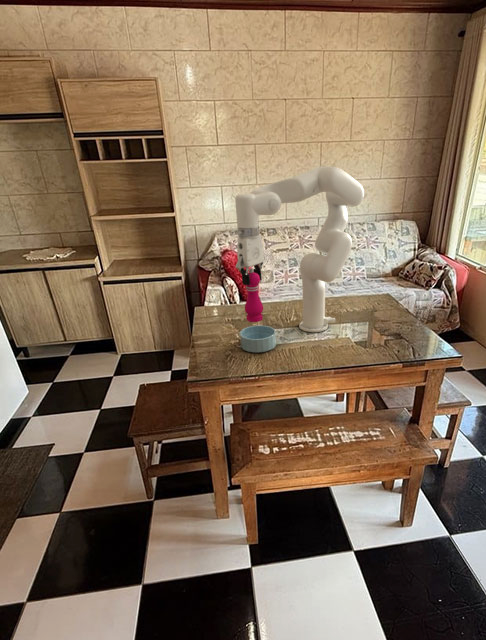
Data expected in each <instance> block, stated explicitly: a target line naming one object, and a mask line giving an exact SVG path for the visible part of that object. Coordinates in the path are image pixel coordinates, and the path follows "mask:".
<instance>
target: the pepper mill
mask: <svg viewBox="0 0 486 640" xmlns="http://www.w3.org/2000/svg"><path fill="white" fill-rule="evenodd" d="M248 274H249V277H250V285H245V290H246V291H247V298H246V301H245V304H244V312H245V314H246V321H247V322H249V323H258V322H261V321H263V320H264V318H263V312H264V305H263V302H262V301H261V298H260V295H259V290H260V285H259V284H260V283H261V280H260V277H259V275H258V274H257V273H255V272H254V268H252V267H250V268H249V271H248Z"/></svg>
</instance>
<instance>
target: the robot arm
mask: <svg viewBox="0 0 486 640" xmlns="http://www.w3.org/2000/svg"><path fill="white" fill-rule="evenodd" d="M321 193H325V199H326V202H327V209H328V212H327V216H326V219H325V221H324V223H323V225H322V227H321V228H320V231H319V232H318V234H317V237H316V239H315V242H314V246H315V249H316V250H317V251H318V252H320V253H322V254H326V255H322V254H319V253H316V252H315V253H314V252H310V253H307V254H305V255H303V257H302V258H301V259H300V262H299V269H300V271H299V272H300V275H301V283H302V321H301V322H299V324H298V327H299V329H300V330H301V331H304V332H307V333H320V332H323V331H326V330H327V329H328V328H329V323H336V318H335V317H332V316H325V315H326V314H325V313H326V283H331V282H333V281H335V280H336V278H338V276H339V274H340V273H341V271H342V269H343V267H344V265H345V263H346V261H347V260H348V257H349V256H350V253H351V251H352V247H353V240H352V237H351V236H350V234H349V233H348V232H345V230H346V228H347V225H348V221H349V213H348V210H347V207H351V208H353V207H357V206H359V205H360V204H361V203H362V202H363V200H364V199H365V190H364V187H363V185H362V184H361V183H360V182H359V181H357V180H356V179H355V178H353V176H351V175H350V174H349V173H347V172H346V171H345V170H343V169H341V168H340V167H337V166H317V167H315V168H313V169H310V170H308V171H305V172H303V173H301V174H298V175H294V176H292V177H288V178H285V179H281V180H279V181H274V182H272V183H271V182H270V183H268V184H265V185H263V186H260V187H257V188H255V189H253V190H252V191H250V192H249V193H240V194H237V195H236V196H235V203H234V204H235V214H236V226H237V243H236V244H237V245H236V254H237V261H236V264H235V268H236V270H237V271H238V272H239V274H240V275H241V284H242V285H244V286H246V285H250V277H249V274H248V273H249V269H250V268H252V267H253V270H254V272H255V273H257V274H258V275H259V277H260V281H262V280H263V279H262V269H263V264H264V262H265V259H266V256H265V253H264V252H265V251H264V243H263V239H262V236H261V234H260V223H259V222H260V221H259V220H260V219H259V216H272V215H275V214H277V213H278V212H279V211H280V209H281V206H282V204H293V203H299V202H302V201H305V200H307V199H309V198H311V197H314V196H316V195H319V194H321Z"/></svg>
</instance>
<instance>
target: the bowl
mask: <svg viewBox="0 0 486 640" xmlns="http://www.w3.org/2000/svg"><path fill="white" fill-rule="evenodd" d="M239 341H240V348H241V349H242V350H244V351H245V352H248V353H249V352H250V353H255V354H256V353H257V354H258V353H265V352H268V351H269V352H270V351H271V350H273V349H274V348H276V346H277V331H276V329H275V328H274V327H272V326H269V325H262V324H261V325H260V324H259V325H251V326H247V327H244V328H242V329H241V330H240V332H239Z"/></svg>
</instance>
